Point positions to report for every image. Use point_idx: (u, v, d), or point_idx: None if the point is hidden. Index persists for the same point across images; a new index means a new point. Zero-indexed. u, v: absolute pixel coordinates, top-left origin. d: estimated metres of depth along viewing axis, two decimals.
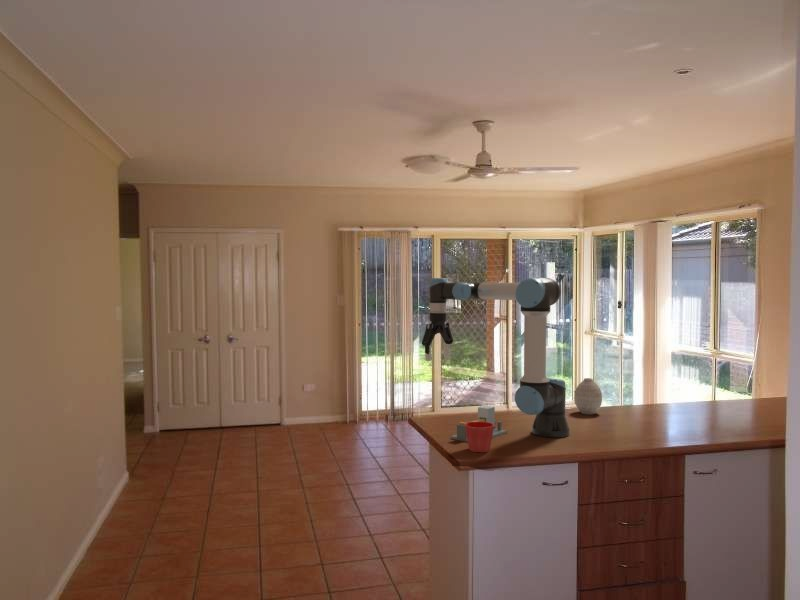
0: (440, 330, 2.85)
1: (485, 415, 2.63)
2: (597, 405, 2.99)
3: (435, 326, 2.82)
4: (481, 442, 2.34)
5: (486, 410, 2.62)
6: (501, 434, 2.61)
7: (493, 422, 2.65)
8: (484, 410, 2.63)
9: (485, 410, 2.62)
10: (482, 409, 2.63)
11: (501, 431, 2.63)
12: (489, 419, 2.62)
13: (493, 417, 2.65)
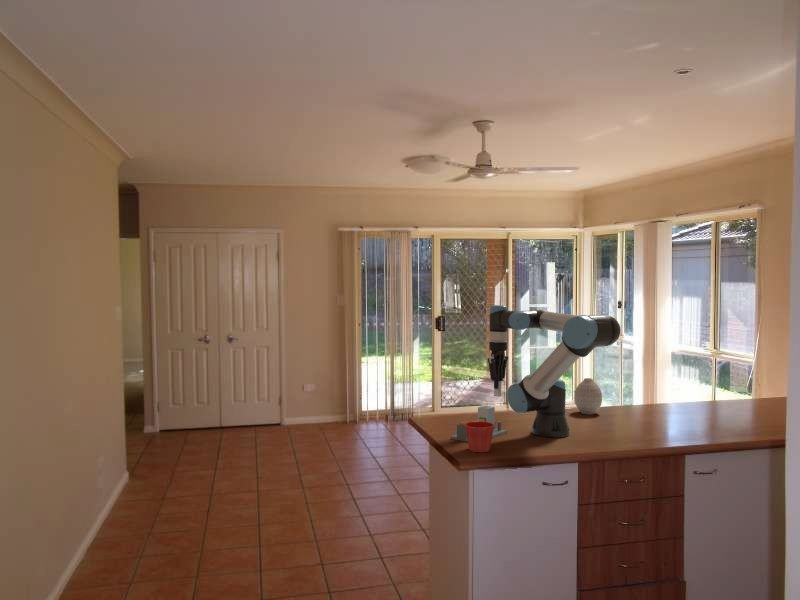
0: None
1: (485, 415, 2.63)
2: (597, 405, 2.99)
3: (496, 356, 2.68)
4: (481, 442, 2.34)
5: (486, 410, 2.62)
6: (501, 434, 2.61)
7: (493, 422, 2.65)
8: (484, 410, 2.63)
9: (485, 410, 2.62)
10: (482, 409, 2.63)
11: (501, 431, 2.63)
12: (489, 419, 2.62)
13: (493, 417, 2.65)
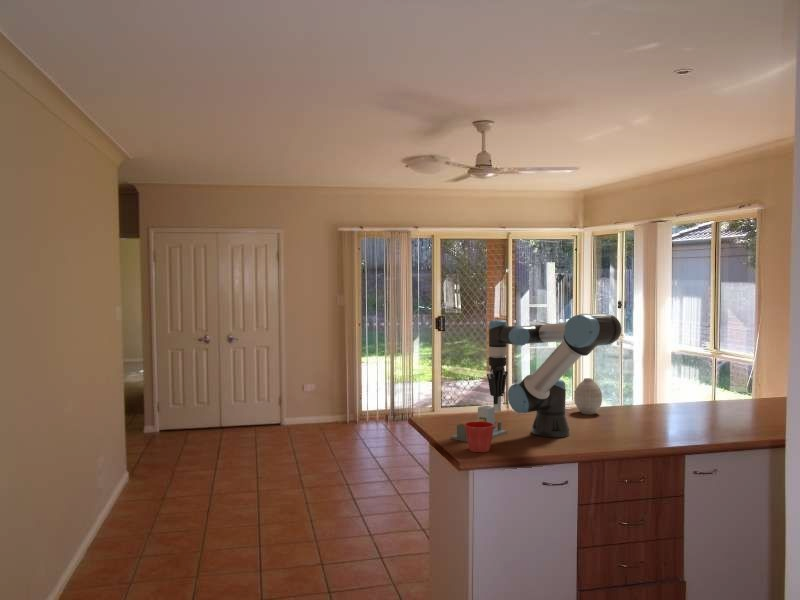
0: (500, 375, 2.71)
1: (485, 415, 2.63)
2: (597, 405, 2.99)
3: (495, 371, 2.68)
4: (481, 442, 2.34)
5: (486, 410, 2.62)
6: (501, 434, 2.61)
7: (493, 422, 2.65)
8: (484, 410, 2.63)
9: (485, 410, 2.62)
10: (482, 409, 2.63)
11: (501, 431, 2.63)
12: (489, 419, 2.62)
13: (493, 417, 2.65)
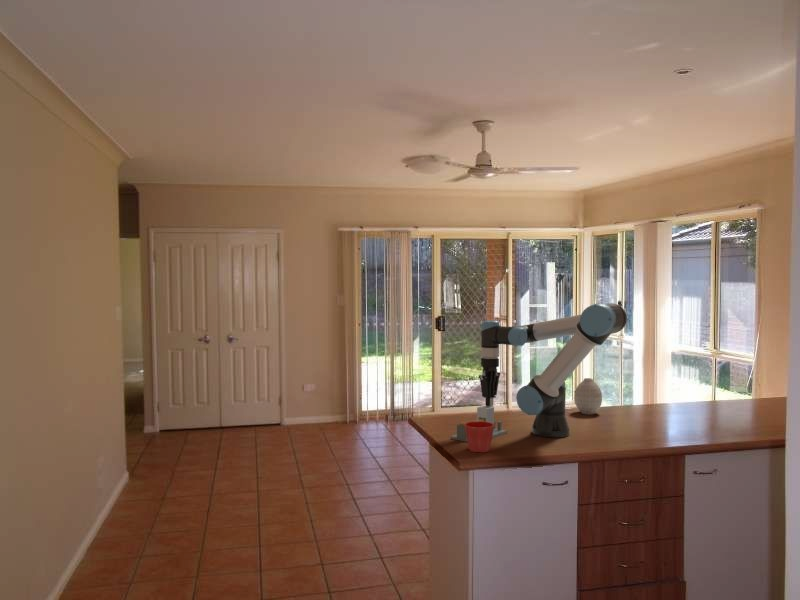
0: (492, 376, 2.66)
1: (484, 415, 2.62)
2: (597, 405, 2.99)
3: (487, 372, 2.64)
4: (481, 442, 2.34)
5: (485, 410, 2.62)
6: (501, 434, 2.61)
7: (492, 423, 2.64)
8: (483, 410, 2.62)
9: (484, 410, 2.62)
10: (481, 409, 2.63)
11: (501, 431, 2.63)
12: (488, 419, 2.62)
13: (492, 417, 2.64)
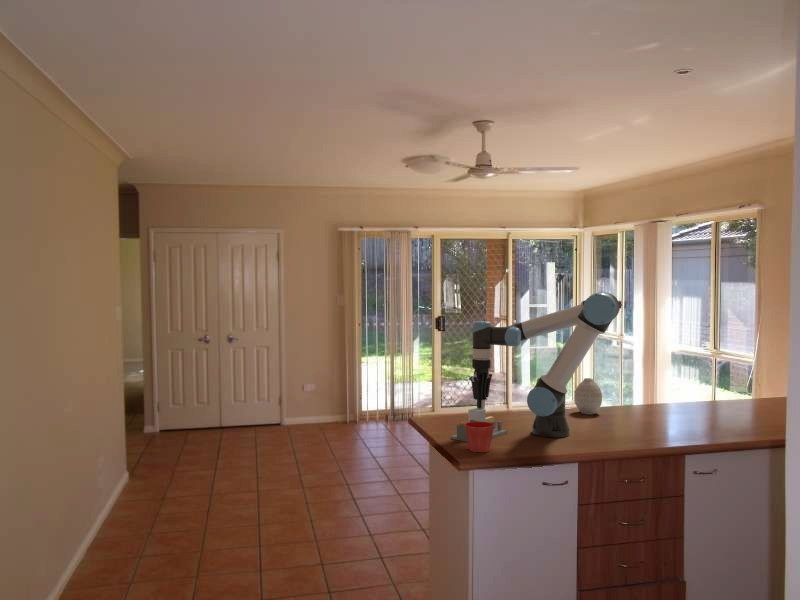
0: (484, 378, 2.62)
1: (475, 417, 2.57)
2: (597, 405, 2.99)
3: (479, 374, 2.59)
4: (481, 442, 2.34)
5: (477, 413, 2.57)
6: (501, 434, 2.61)
7: None
8: (474, 413, 2.57)
9: (475, 413, 2.57)
10: (472, 412, 2.58)
11: (501, 431, 2.63)
12: None
13: (483, 420, 2.59)
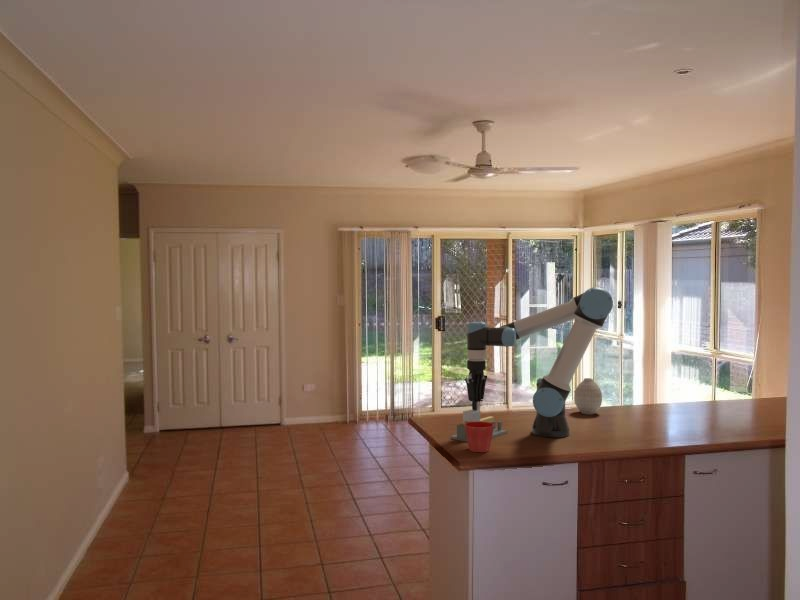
0: (479, 379, 2.59)
1: (470, 419, 2.54)
2: (597, 405, 2.99)
3: (474, 375, 2.56)
4: (481, 442, 2.34)
5: (471, 414, 2.54)
6: (501, 434, 2.61)
7: None
8: (469, 414, 2.55)
9: (470, 414, 2.54)
10: (467, 413, 2.55)
11: (501, 431, 2.63)
12: None
13: None
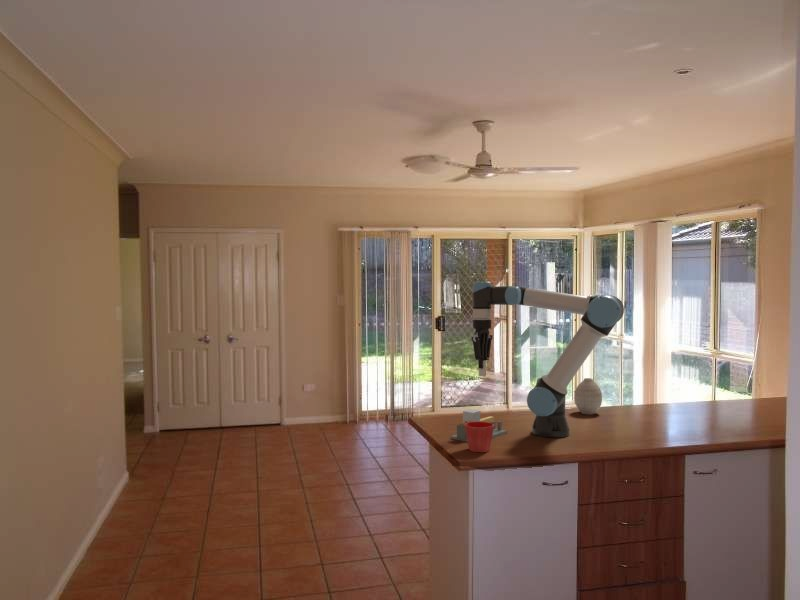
0: (485, 338, 2.61)
1: (470, 419, 2.54)
2: (597, 405, 2.99)
3: (480, 334, 2.58)
4: (481, 442, 2.34)
5: (471, 414, 2.54)
6: (501, 434, 2.61)
7: None
8: (469, 414, 2.55)
9: (470, 414, 2.54)
10: (467, 413, 2.55)
11: (501, 431, 2.63)
12: None
13: None
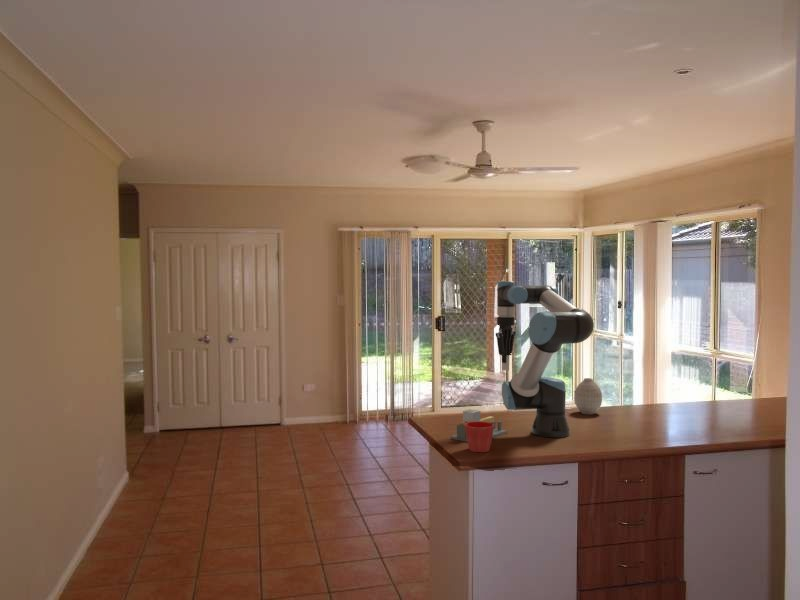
0: (508, 335, 2.77)
1: (470, 419, 2.54)
2: (597, 405, 2.99)
3: (504, 330, 2.74)
4: (481, 442, 2.34)
5: (471, 414, 2.54)
6: (501, 434, 2.61)
7: None
8: (469, 414, 2.55)
9: (470, 414, 2.54)
10: (467, 413, 2.55)
11: (501, 431, 2.63)
12: None
13: None
